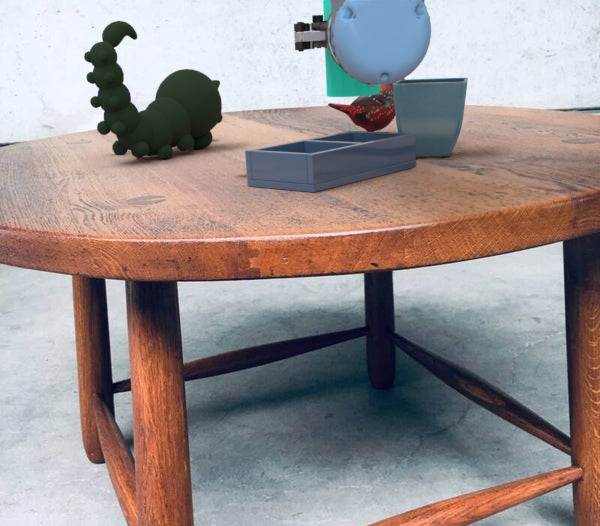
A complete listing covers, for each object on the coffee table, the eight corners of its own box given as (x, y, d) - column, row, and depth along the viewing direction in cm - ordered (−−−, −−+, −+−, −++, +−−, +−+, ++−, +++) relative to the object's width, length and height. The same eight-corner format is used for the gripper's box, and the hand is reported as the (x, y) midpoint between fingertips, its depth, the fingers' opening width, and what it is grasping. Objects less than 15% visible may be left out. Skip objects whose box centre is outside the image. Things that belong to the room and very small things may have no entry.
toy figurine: (142, 181, 117) (251, 139, 135) (114, 24, 109) (235, 2, 127) (90, 178, 122) (202, 137, 140) (59, 28, 113) (183, 6, 132)
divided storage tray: (416, 167, 105) (415, 133, 104) (314, 192, 92) (312, 154, 91) (351, 162, 111) (350, 130, 110) (247, 186, 98) (244, 150, 97)
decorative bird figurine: (413, 136, 133) (413, 64, 129) (337, 152, 121) (335, 73, 117) (397, 136, 134) (397, 64, 131) (321, 151, 122) (318, 73, 119)
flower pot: (466, 149, 117) (467, 76, 113) (465, 159, 109) (467, 80, 105) (398, 151, 118) (397, 79, 115) (393, 161, 110) (392, 83, 107)
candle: (366, 96, 98) (363, -26, 93) (317, 97, 100) (312, -21, 96) (388, 91, 102) (386, -25, 98) (341, 92, 105) (337, -21, 101)
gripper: (269, 82, 84) (273, 71, 105) (467, 71, 84) (430, 62, 105) (264, -6, 81) (269, 1, 102) (469, -17, 81) (431, -8, 102)
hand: (351, 32), depth 104 cm, fingers closed on candle, 5 cm apart
